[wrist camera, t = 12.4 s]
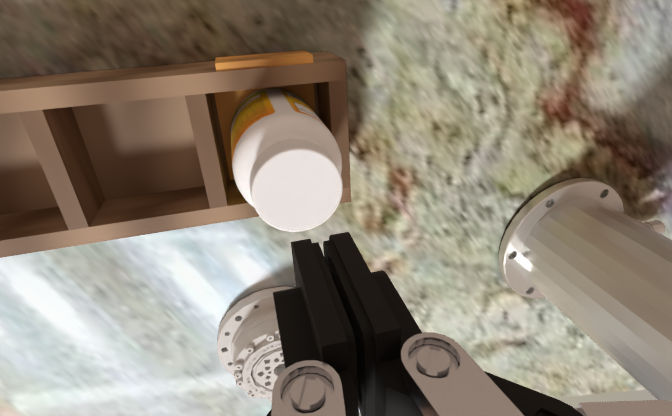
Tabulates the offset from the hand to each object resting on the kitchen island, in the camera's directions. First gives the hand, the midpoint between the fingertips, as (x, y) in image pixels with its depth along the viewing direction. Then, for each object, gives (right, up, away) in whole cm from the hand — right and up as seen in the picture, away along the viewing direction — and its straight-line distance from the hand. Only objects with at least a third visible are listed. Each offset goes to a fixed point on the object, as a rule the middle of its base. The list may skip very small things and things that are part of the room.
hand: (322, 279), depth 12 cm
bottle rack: (-11, +6, +13) cm, 19 cm away
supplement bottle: (-4, +7, +14) cm, 16 cm away
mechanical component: (-5, -8, +23) cm, 25 cm away
